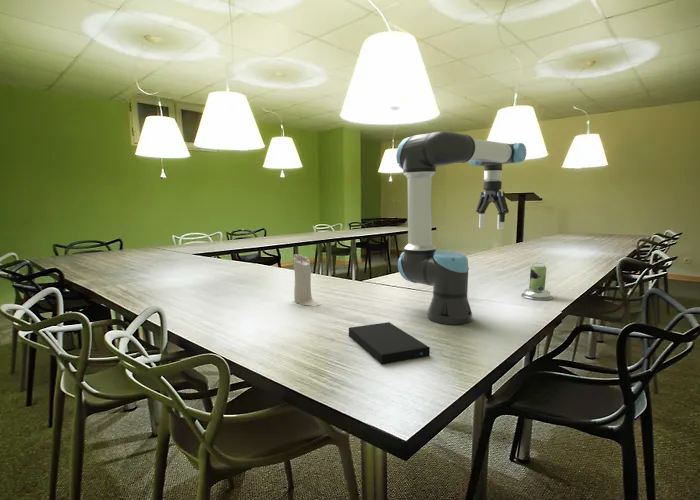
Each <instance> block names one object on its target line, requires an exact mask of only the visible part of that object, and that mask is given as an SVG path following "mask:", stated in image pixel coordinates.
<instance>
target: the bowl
mask: <svg viewBox="0 0 700 500" xmlns="http://www.w3.org/2000/svg"><path fill="white" fill-rule="evenodd" d="M521 297H522V298H524V299H526V300H531V301H541V302H543V301H545V302H546V301H551V300H553V296H552V295H551V292H550V291H549V290H546V289H545V290H543V291H542V292H534V291H532V290H531V289H529V288H525V289H524V290H523V293H521Z"/></svg>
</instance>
